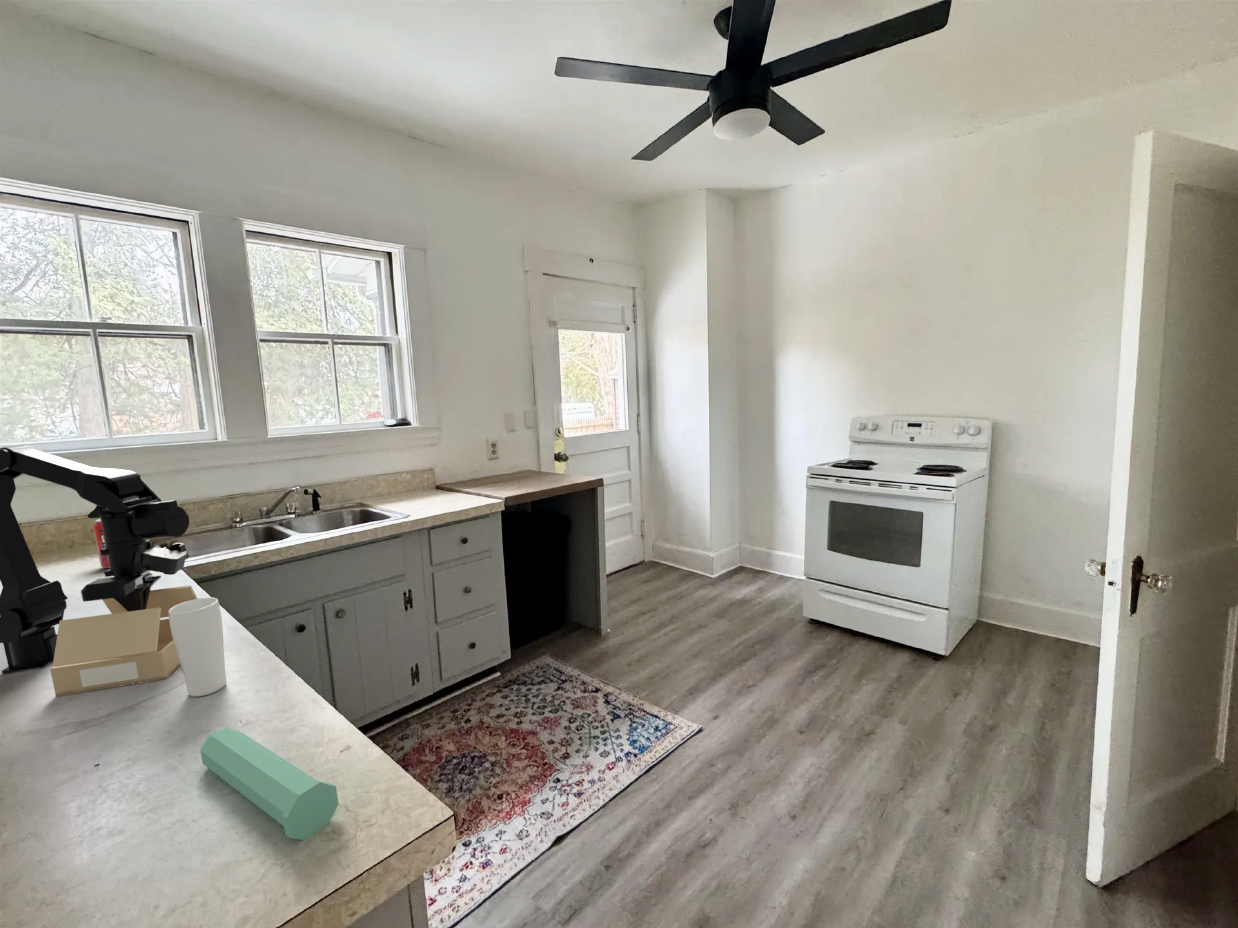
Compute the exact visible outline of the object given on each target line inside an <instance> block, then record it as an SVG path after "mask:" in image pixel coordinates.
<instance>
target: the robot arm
mask: <svg viewBox="0 0 1238 928" xmlns="http://www.w3.org/2000/svg"><path fill="white" fill-rule="evenodd" d="M23 475H27V476H29V477H33V478H37V479H40V480H43V481H46V482H49V483H53V484H56V485H59V486H63V487H66V488H69V489H72V490H73V491H75V492H76V493H77V494H78V496H79V497H80V498H81V499H84V500H86V501H87V502H90V503H91V504H93V505H95V508H94V509H93V510H91V511H90V512H89V513H88V514H87V518H89V519H101V524H102V530H103V535H104V540H105V545H106V548H103V549H101V550H100V552H101V555H107V556H108V561H109V566H110V569H107V570H105V571H104V577H101V578H97V579H96V580H93V581H92V582H90V583H88V584H86V585H85V586H84V587H83V588H82V589H81V590H80V593H81V598H82V601H83V602H85V603H86V602H93V601H100V600H102V599H110V598H114V599H115V600H116V601H117V602H118V603H120V604H121V605H122V606H123V607H124V608H125V609H126V610H127V611H128V612H130V611H137V610H145V609H146V607H147V602H148V597H149V593H150V590H152V589H151V588H152V587H153V586H154V585H155V584H156V583H157V582H158V581H159V580H160V579H161V578H162V575H155V576H154V575H153V573H151V571H152V572H157V573H162V574H164V575H176V574H177V572H179V571H180V570H181V571H182V570H183V569H184V565H185V562H186V560H188V559H189V558H190V555H189V554H188V553H189V551H187V548H186V545H185V543H182V542H178V541H177V542H175V543H172V544H171V545H170V546H169V547H168V548H167V547H166V546H164V547H162V548H161V547H156V545H155V541H154V540H152V539H158V538H161V539H162V538H178V537H182V536H183V535H184V534H186V532H187V531H188V529H189V526H190V517H189V514H188V513H187V511H186V510H185V509H184V508H183V507H181V506H178V502H177V499H170V500H166V501H162V499H161V498H160V497H159V496H158V495H157V494H156V493H155V492H154V491H153V490H152V489H151V488H150V487H149V486H148V485H147V484H146V483H145V482H144V481H143V480H142V478H141V475H140V474H139V473H138V472H135V471H134V470H127V469H121V468H112V467H111V468H107V467H96V466H95V467H93V466H89V465H87V464H84V463H79V462H77V461H74V460H71V459H67V458H63V457H61V456H57V455H55V454H50V453H48V452H45V451H41V450H38V449H36V447H33V446H30V445H26V444H24V445H23V444H22V445H15V446H13V445H12V446H5V447H0V583H1V586H2V589H1V591H0V644H3V649H4V653H5V657H6V662H7V667H6V668H3V669H2V670H1V673H2V674H8V673H15V672H19V671H20V672H21V671H27V670H35V669H39V668H40V669H42V668H45V667H46V666H48V665H50V664H51V663H53V661H54V654H55V648H56V641H57V634H58V633H56V629H55V628H56V627H55V626H57V625H59V621H61V620H64V614H65V611H66V609H67V605H68V604H67V601H66V600H68V599H69V598H68V596H67V595H66V594H65V592H64V590H63V585H62V583H61V582H60V581H59V580H56V579H55V580H54V581H50V580H48V579H47V578H45V577H43V576H42V575H41V574H40V571H39V570H38V567H37V564H36V562H35V560H34V558H33V555H32V553H31V550H30V548H29V546H28V543H27V541H26V538H25V535H24V534H23V530H22V529H21V526H20V525H19V522H18V519H17V517H16V514H15V512H14V510H13V507H12V501H13V498H14V497H15V493H16V490H17V486H16V483H15V482H16V481H15V480H16V479H17V478H20V477H21V476H23ZM102 601H103V600H102Z"/></svg>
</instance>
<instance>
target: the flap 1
mask: <svg viewBox="0 0 1238 928" xmlns="http://www.w3.org/2000/svg"><path fill="white" fill-rule="evenodd" d="M160 614H161V608H152V609H145V610H137V611H130V612H122V613H114V614H112V613H108V614H107V613H106V614H100V615H93V616H84V617H79V618H78V617H77V618H76V617H75V618H70V619H63V620H61V621H59V624H58V629H57V633H56V634H57V641H56V648H55V654H54V661H53V662H52V667H54V666H61V665H68V664H75V663H82V662H88V661H95V660H102V659H109V658H115V657H122V656H129V655H136V654H142V653H149V652H156V651H157V645H158V635H159V624H160V619H161V618H160Z"/></svg>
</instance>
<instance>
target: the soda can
mask: <svg viewBox="0 0 1238 928" xmlns="http://www.w3.org/2000/svg"><path fill="white" fill-rule="evenodd" d="M93 533H94V538H95V543H96V549H97V553H98V558H99V564H100V567H101V568H103V569H107V568H110V566H109V561H108V556H107V555H101V552H100V550H101V549H103V548H106V545H105V540H104V535H103V530H102V524H101V519H100V518H97V519H96V520H95V523H94V524H93Z"/></svg>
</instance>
